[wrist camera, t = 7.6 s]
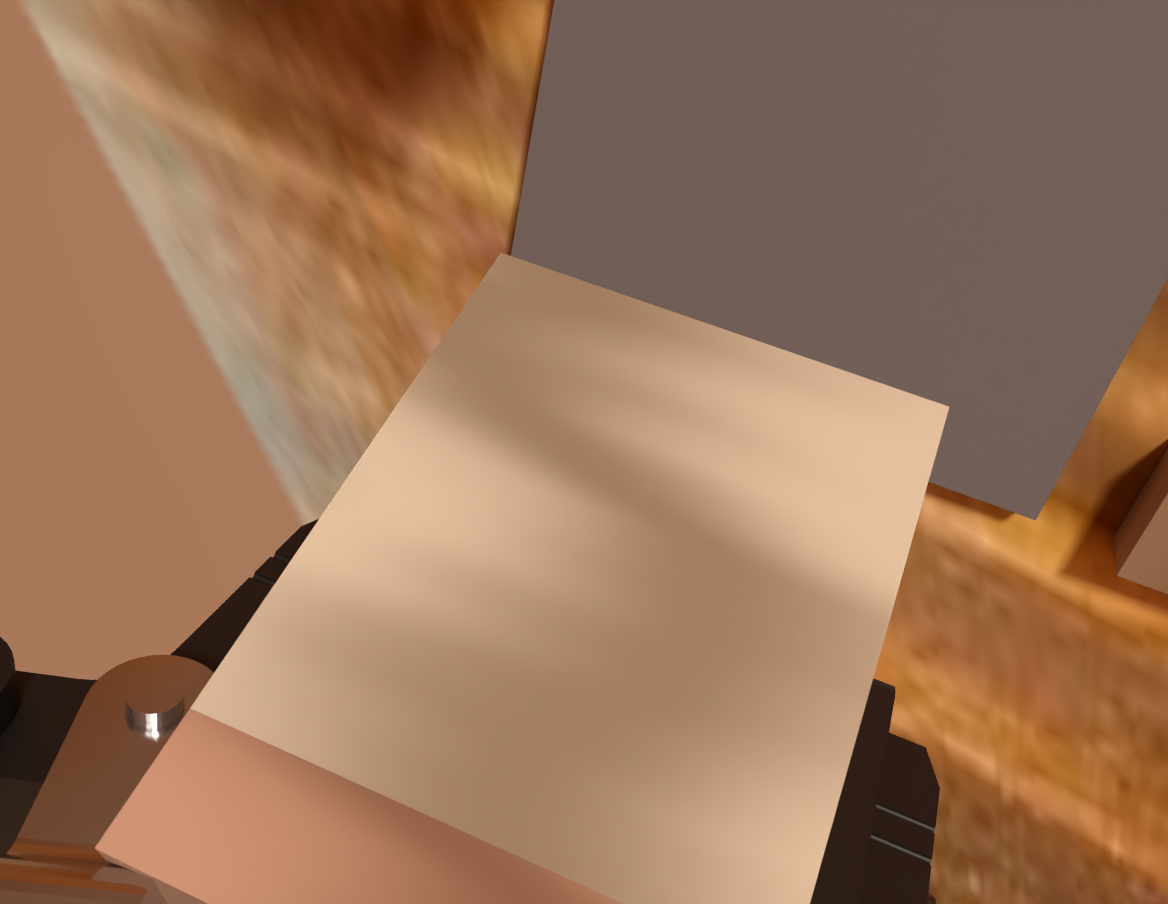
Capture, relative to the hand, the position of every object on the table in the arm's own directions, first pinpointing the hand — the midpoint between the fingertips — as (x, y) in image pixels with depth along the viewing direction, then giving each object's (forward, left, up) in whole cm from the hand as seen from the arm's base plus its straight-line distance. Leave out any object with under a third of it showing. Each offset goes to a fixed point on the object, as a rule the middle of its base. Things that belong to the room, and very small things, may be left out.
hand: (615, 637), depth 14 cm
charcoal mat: (0, +1, -15) cm, 15 cm away
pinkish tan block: (0, 0, -3) cm, 3 cm away
